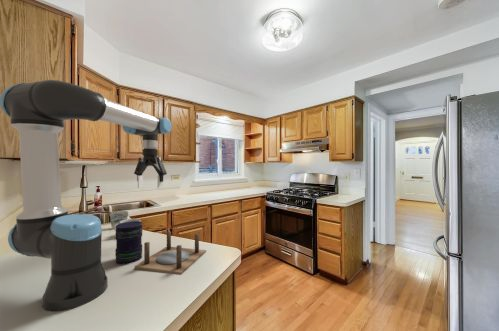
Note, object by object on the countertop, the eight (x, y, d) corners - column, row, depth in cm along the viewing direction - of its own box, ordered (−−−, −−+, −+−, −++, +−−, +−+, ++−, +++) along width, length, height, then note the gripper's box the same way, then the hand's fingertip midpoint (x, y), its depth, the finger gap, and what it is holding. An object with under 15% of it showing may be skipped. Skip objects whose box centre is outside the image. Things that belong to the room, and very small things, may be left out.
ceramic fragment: (109, 229, 129) (109, 213, 129) (108, 228, 132) (108, 212, 132) (128, 225, 136) (129, 210, 136) (127, 224, 139) (127, 210, 139)
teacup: (137, 230, 127) (137, 217, 127) (143, 234, 119) (143, 220, 119) (110, 235, 117) (110, 221, 117) (115, 240, 109) (115, 225, 109)
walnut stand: (181, 276, 73) (181, 249, 74) (134, 270, 78) (134, 245, 78) (206, 253, 93) (206, 232, 93) (167, 249, 98) (167, 229, 98)
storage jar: (117, 267, 80) (117, 229, 80) (113, 259, 87) (113, 224, 87) (145, 260, 86) (145, 224, 87) (139, 252, 94) (139, 220, 94)
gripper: (173, 148, 111) (173, 187, 111) (138, 149, 120) (138, 186, 119) (163, 147, 104) (163, 189, 104) (127, 148, 112) (126, 187, 112)
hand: (149, 187), depth 112 cm, fingers open, 13 cm apart
